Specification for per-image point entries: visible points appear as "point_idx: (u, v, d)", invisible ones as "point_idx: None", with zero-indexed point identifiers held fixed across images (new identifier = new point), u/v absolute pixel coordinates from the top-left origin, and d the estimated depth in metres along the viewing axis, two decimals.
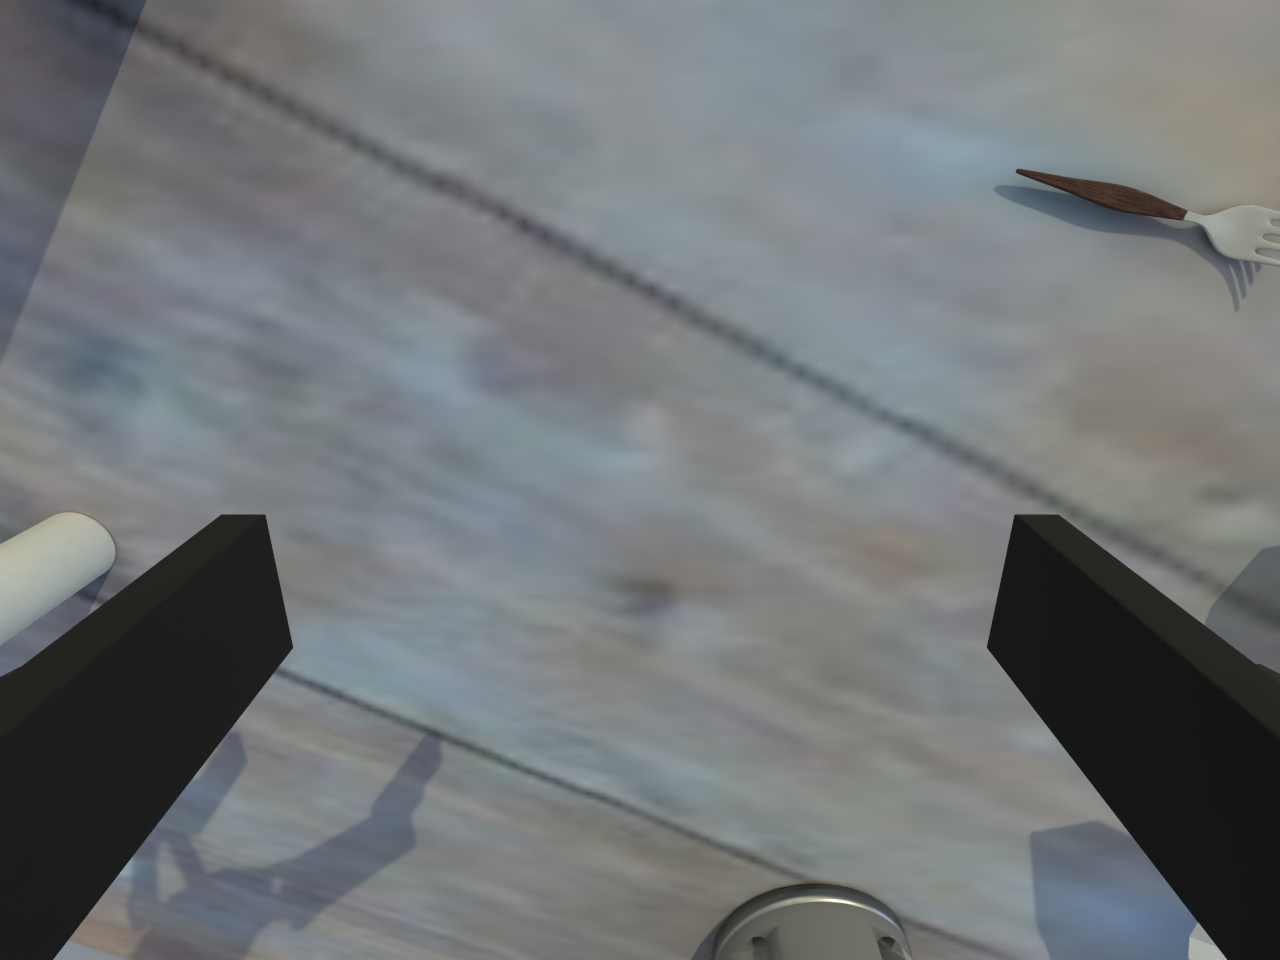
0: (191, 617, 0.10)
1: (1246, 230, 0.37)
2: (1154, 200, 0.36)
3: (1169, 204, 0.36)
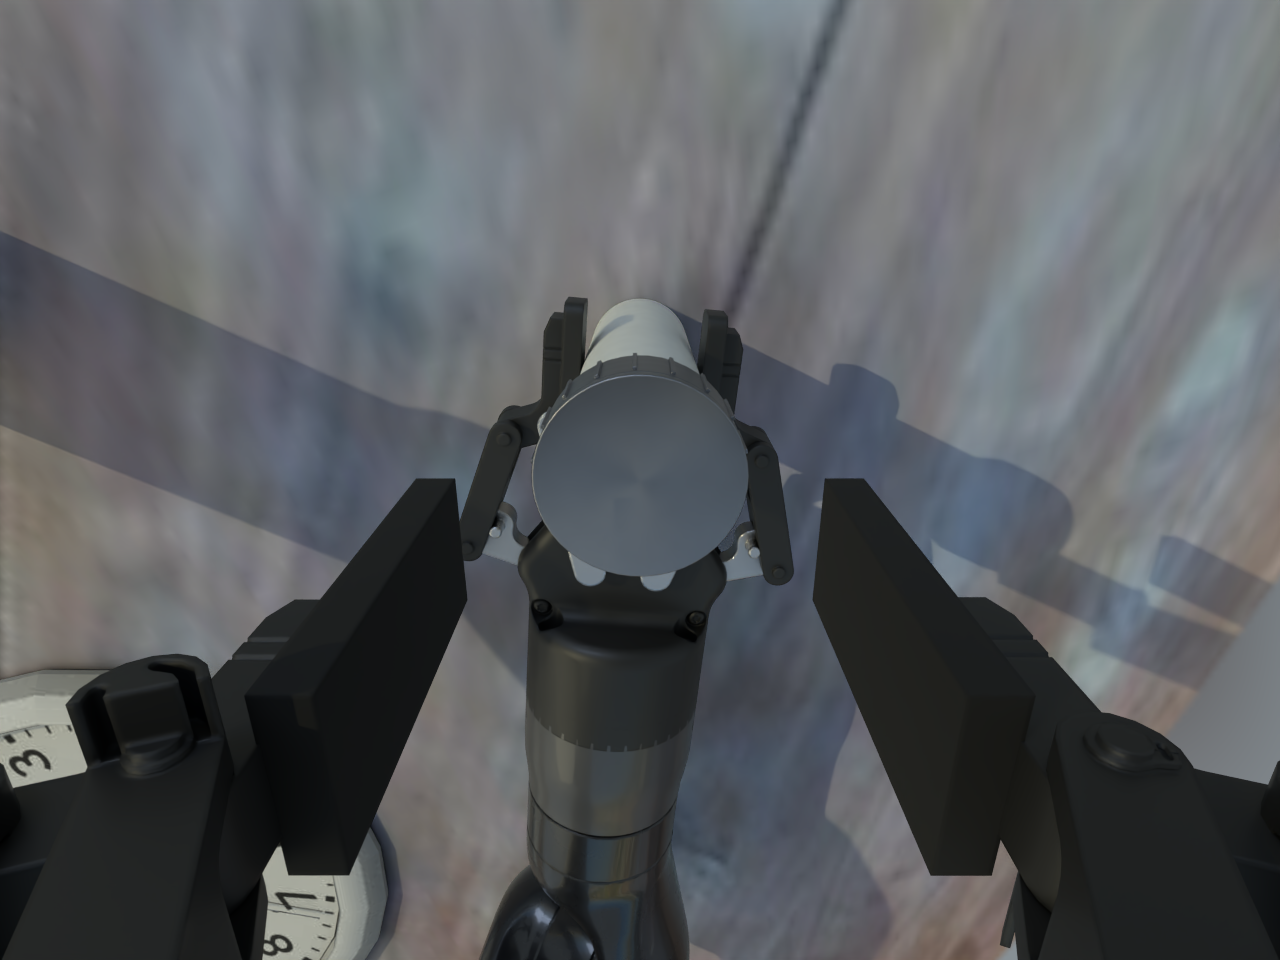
0: (423, 561, 0.12)
1: None
2: None
3: None
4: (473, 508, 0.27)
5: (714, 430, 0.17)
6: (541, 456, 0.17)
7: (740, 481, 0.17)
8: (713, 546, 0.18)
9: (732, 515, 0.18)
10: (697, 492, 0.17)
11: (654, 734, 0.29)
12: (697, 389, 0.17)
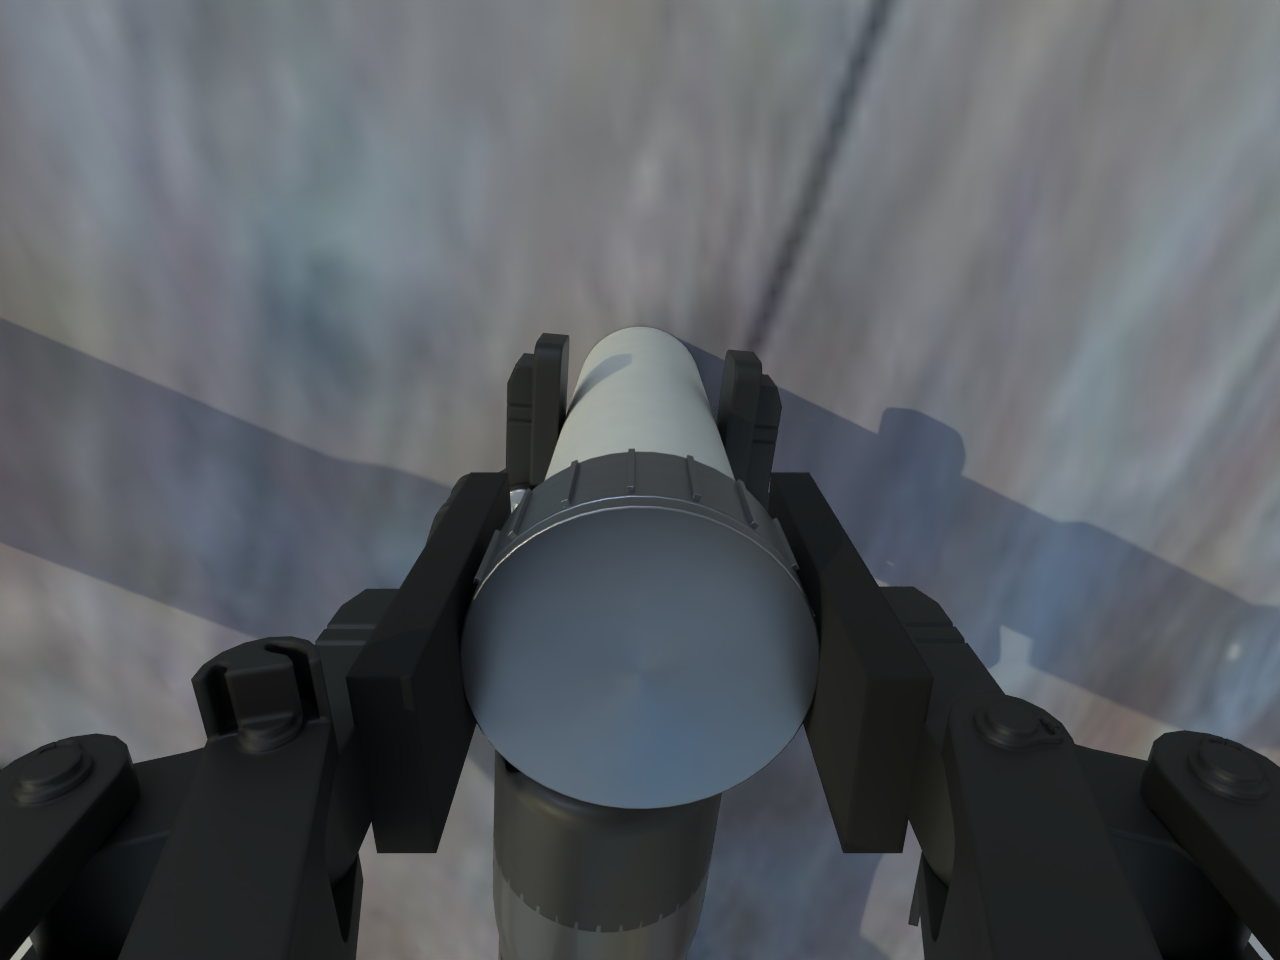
0: None
1: None
2: None
3: None
4: None
5: (766, 594, 0.10)
6: (473, 634, 0.10)
7: (807, 672, 0.10)
8: (759, 767, 0.11)
9: (792, 722, 0.11)
10: (735, 688, 0.11)
11: (659, 907, 0.22)
12: (738, 528, 0.10)
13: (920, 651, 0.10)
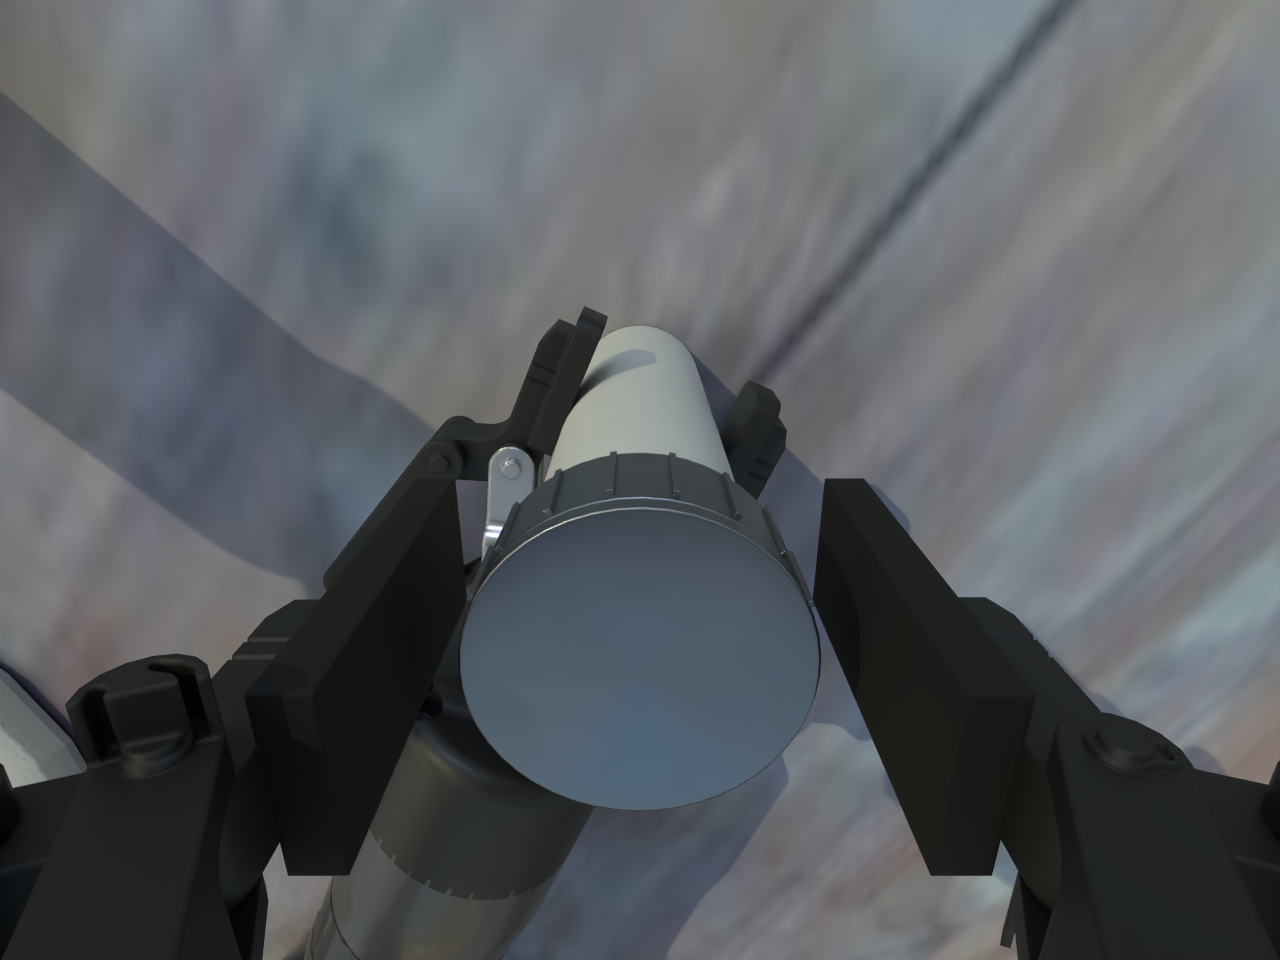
0: (423, 561, 0.12)
1: None
2: None
3: None
4: (368, 537, 0.20)
5: (552, 561, 0.10)
6: (587, 796, 0.11)
7: (651, 521, 0.10)
8: (777, 568, 0.10)
9: (717, 536, 0.10)
10: (667, 590, 0.10)
11: (513, 885, 0.22)
12: (483, 580, 0.10)
13: None
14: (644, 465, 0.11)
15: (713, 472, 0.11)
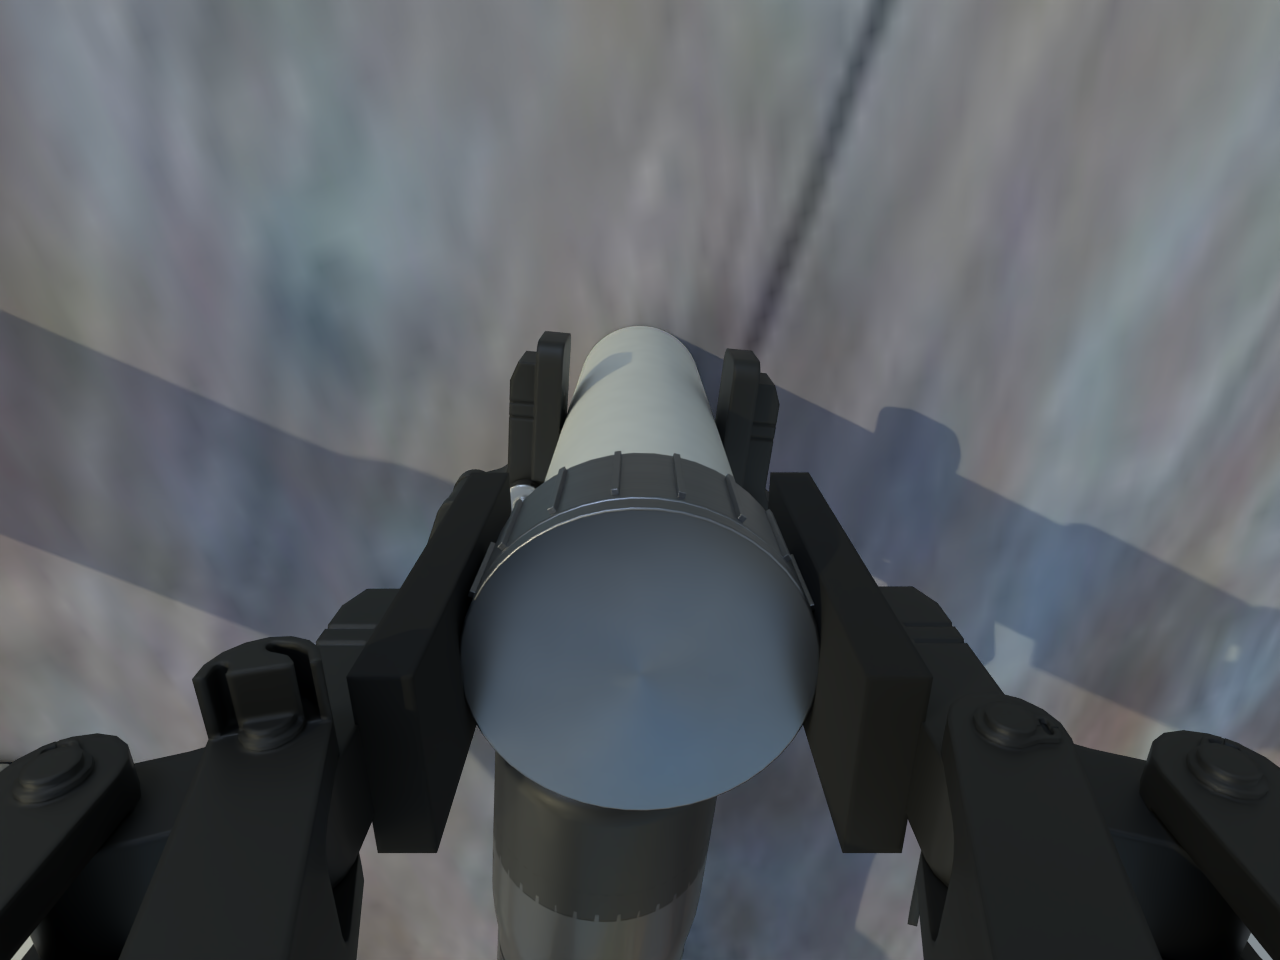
0: None
1: None
2: None
3: None
4: None
5: (516, 591, 0.10)
6: (637, 803, 0.11)
7: (593, 526, 0.10)
8: (732, 534, 0.10)
9: (661, 521, 0.10)
10: (634, 586, 0.10)
11: (656, 897, 0.22)
12: (463, 627, 0.10)
13: (919, 651, 0.10)
14: (589, 472, 0.11)
15: (663, 457, 0.11)
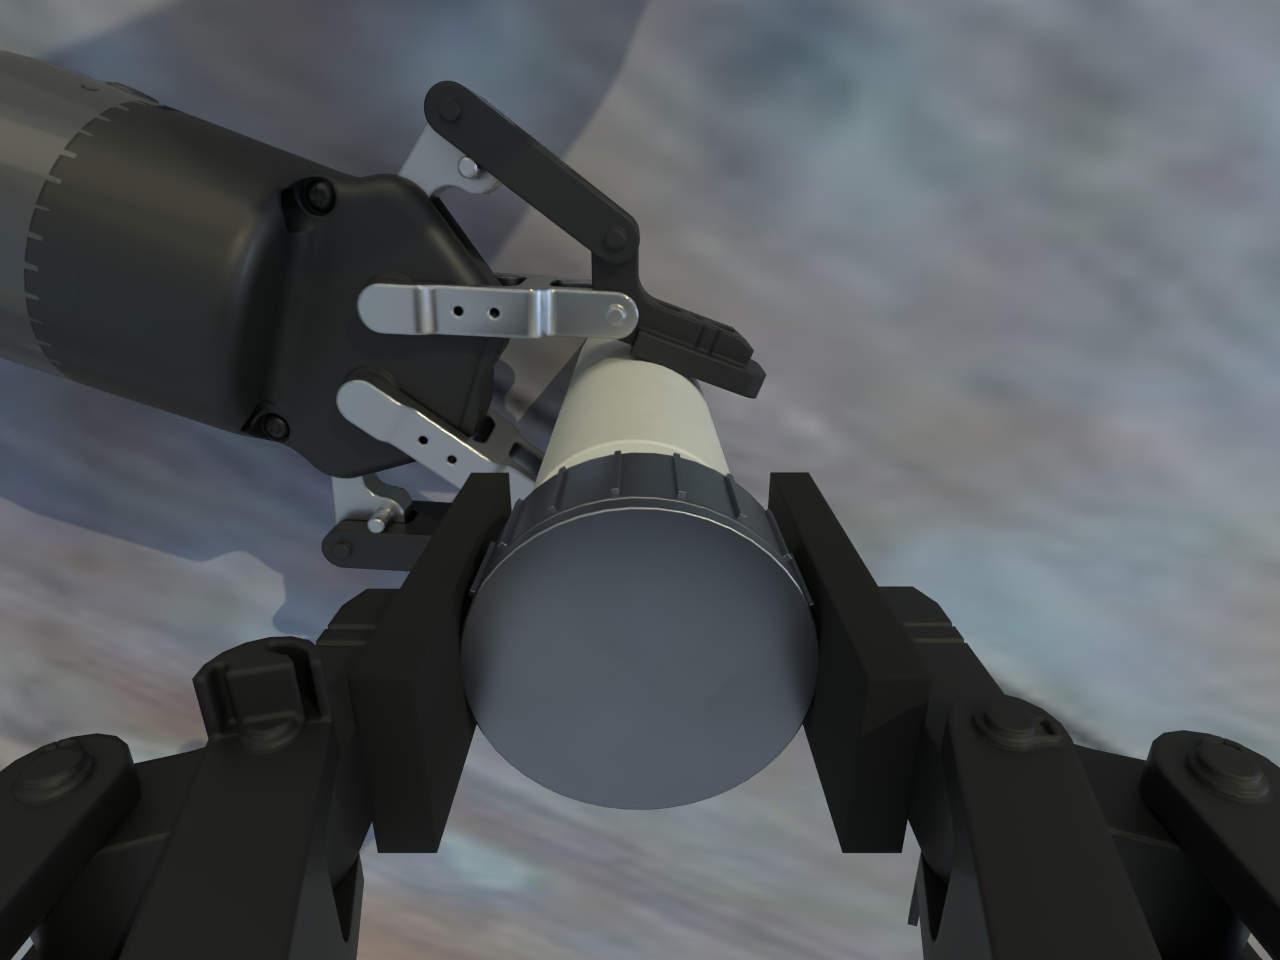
0: None
1: None
2: None
3: None
4: (516, 147, 0.17)
5: (516, 590, 0.10)
6: (637, 802, 0.11)
7: (593, 526, 0.10)
8: (731, 533, 0.10)
9: (661, 520, 0.10)
10: (634, 586, 0.10)
11: (63, 347, 0.17)
12: (463, 626, 0.10)
13: (919, 651, 0.10)
14: (589, 472, 0.11)
15: (663, 457, 0.11)
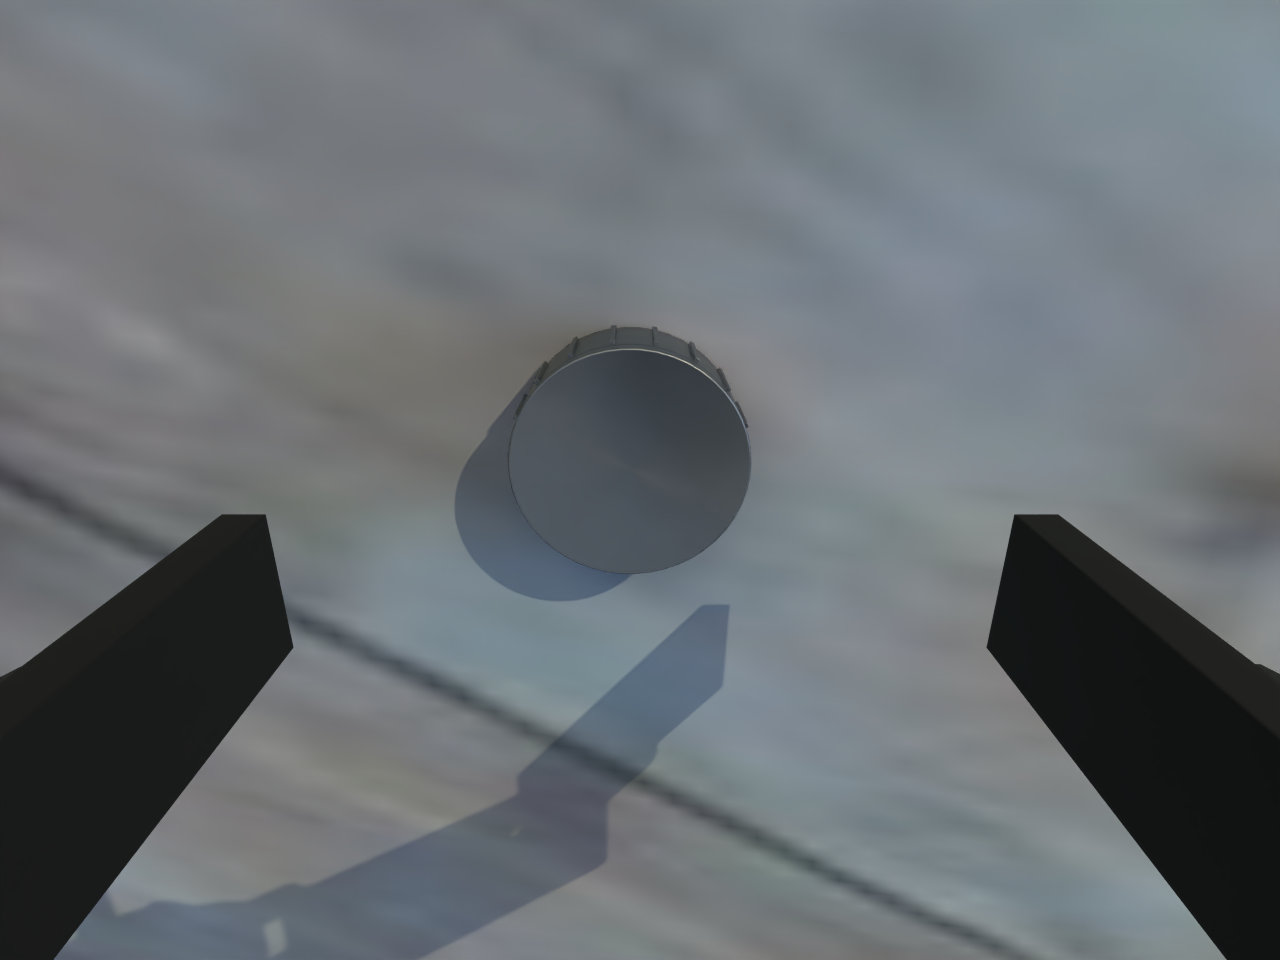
0: (192, 617, 0.10)
1: None
2: None
3: None
4: None
5: (547, 408, 0.15)
6: (629, 567, 0.16)
7: (598, 361, 0.15)
8: (689, 367, 0.15)
9: (642, 357, 0.15)
10: (625, 405, 0.15)
11: None
12: (511, 436, 0.15)
13: None
14: (594, 337, 0.16)
15: (645, 329, 0.16)
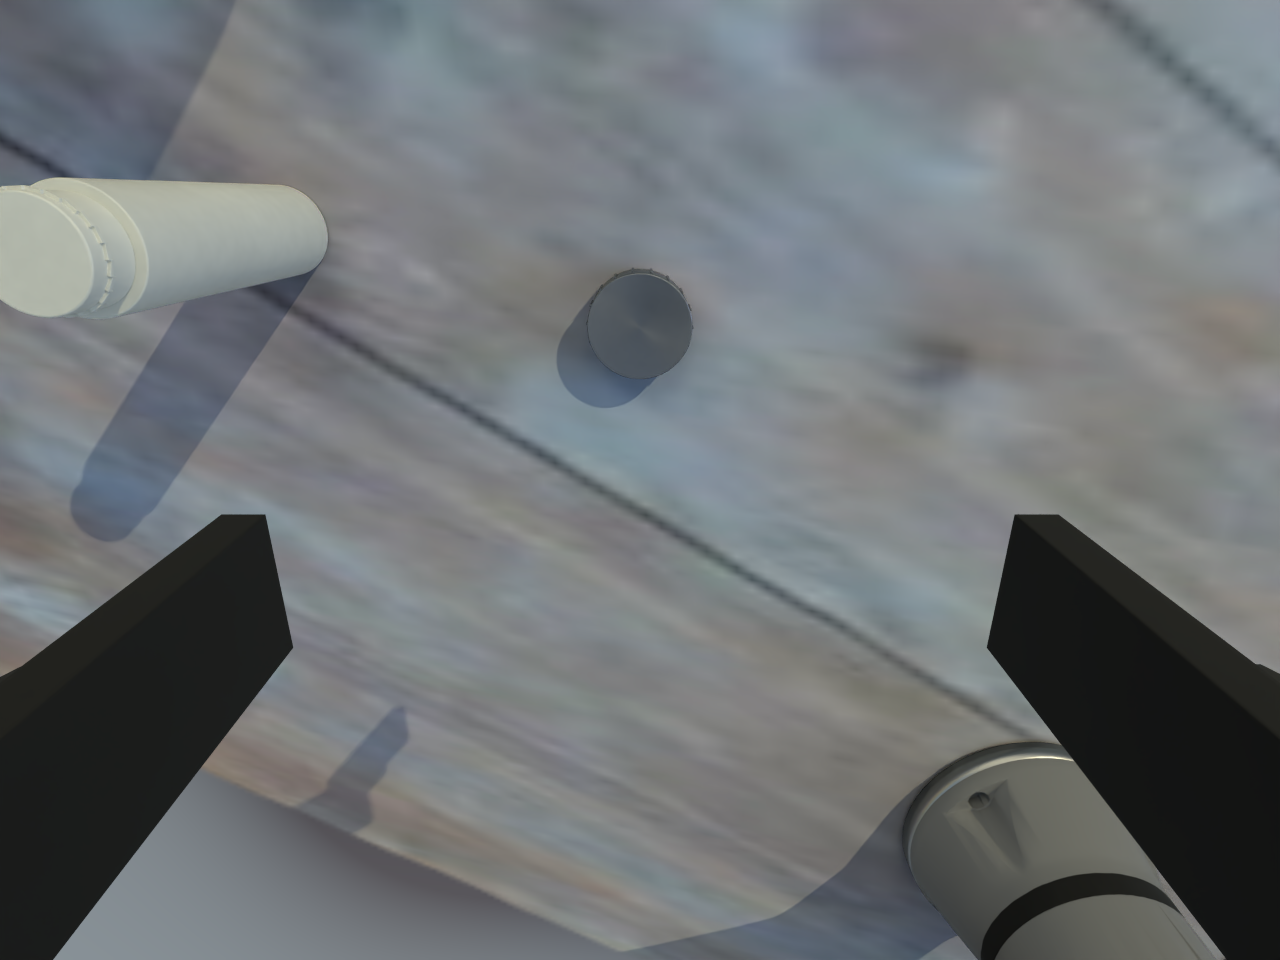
0: (191, 616, 0.10)
1: None
2: None
3: None
4: None
5: (605, 299, 0.35)
6: (639, 375, 0.37)
7: (626, 279, 0.35)
8: (664, 281, 0.35)
9: (645, 277, 0.35)
10: (638, 298, 0.35)
11: None
12: (589, 313, 0.36)
13: None
14: (624, 272, 0.37)
15: None
